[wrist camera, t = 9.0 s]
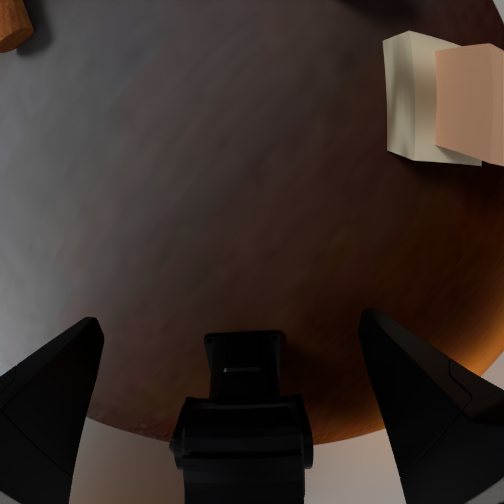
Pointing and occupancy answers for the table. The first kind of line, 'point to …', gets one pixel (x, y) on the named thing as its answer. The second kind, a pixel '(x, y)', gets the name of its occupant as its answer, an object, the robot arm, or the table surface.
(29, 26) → the kendama
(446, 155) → the birch brick
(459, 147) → the terracotta brick
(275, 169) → the table surface
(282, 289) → the table surface
